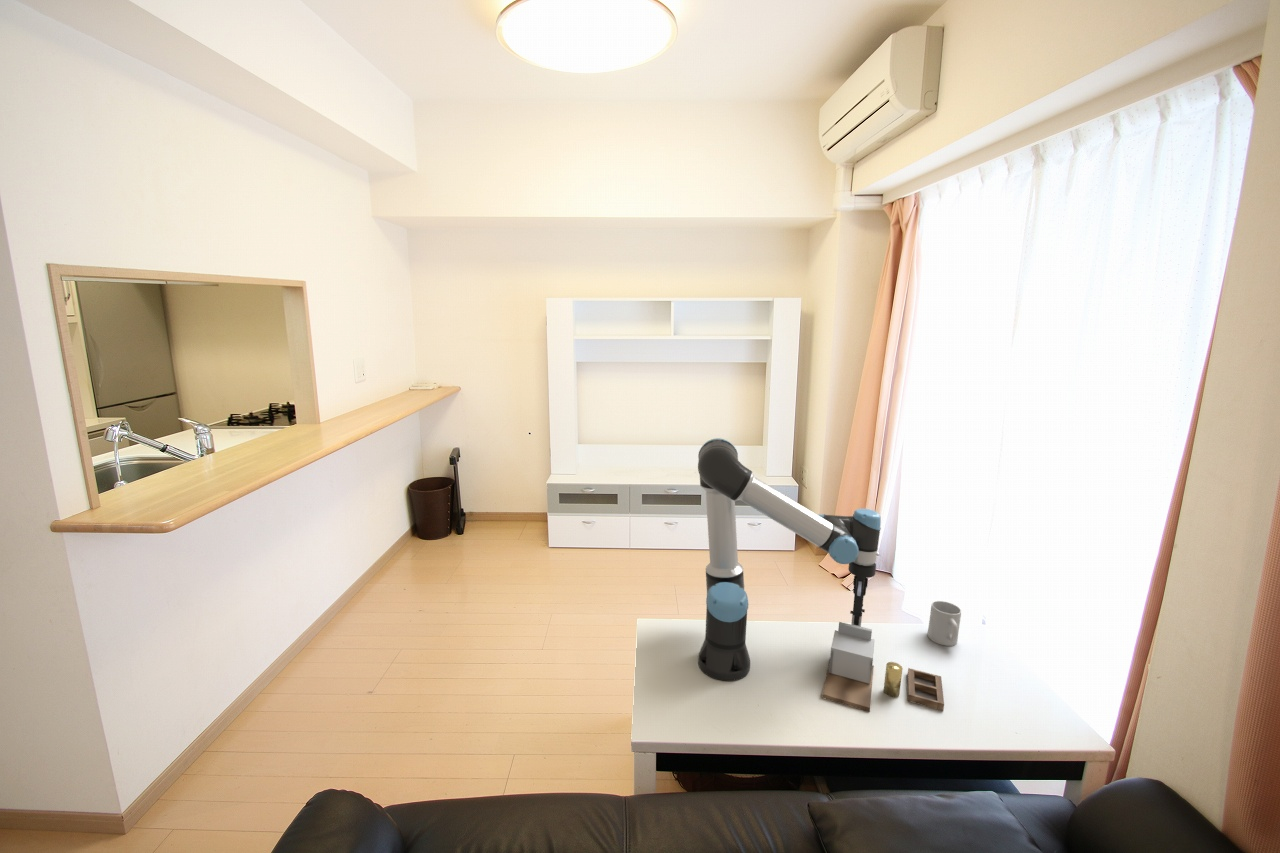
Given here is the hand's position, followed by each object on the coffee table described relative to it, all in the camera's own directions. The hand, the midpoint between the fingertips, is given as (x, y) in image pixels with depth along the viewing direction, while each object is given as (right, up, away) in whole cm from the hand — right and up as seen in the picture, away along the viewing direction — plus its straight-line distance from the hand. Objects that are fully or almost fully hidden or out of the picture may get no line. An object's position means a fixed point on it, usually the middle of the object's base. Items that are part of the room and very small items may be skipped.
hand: (855, 632), depth 169 cm
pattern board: (-7, -9, -14) cm, 18 cm away
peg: (+3, -10, -18) cm, 20 cm away
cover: (-5, -7, -10) cm, 13 cm away
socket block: (+13, -10, -17) cm, 23 cm away
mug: (+32, -6, +7) cm, 33 cm away
